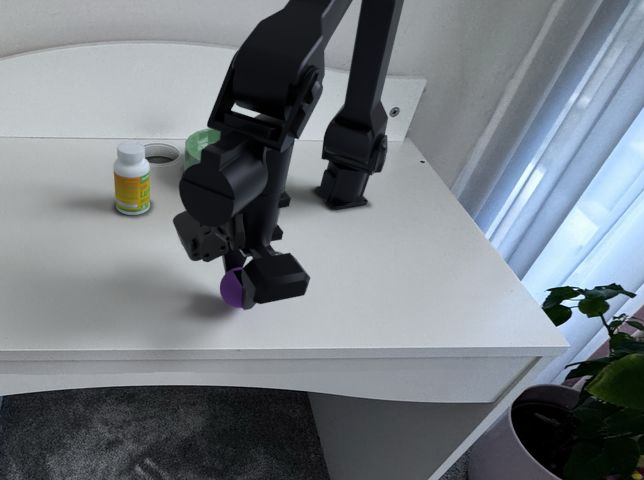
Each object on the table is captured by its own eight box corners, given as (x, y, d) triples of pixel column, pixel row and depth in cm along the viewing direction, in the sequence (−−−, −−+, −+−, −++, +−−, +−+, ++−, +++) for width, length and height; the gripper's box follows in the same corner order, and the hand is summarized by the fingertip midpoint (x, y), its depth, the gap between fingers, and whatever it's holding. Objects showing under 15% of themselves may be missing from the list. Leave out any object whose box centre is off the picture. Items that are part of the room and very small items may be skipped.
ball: (247, 287, 66) (253, 256, 62) (263, 312, 63) (270, 281, 59) (212, 293, 65) (215, 262, 61) (226, 319, 62) (231, 288, 58)
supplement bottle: (145, 218, 77) (144, 158, 70) (111, 213, 78) (107, 153, 70) (153, 200, 81) (153, 141, 73) (121, 195, 81) (118, 136, 74)
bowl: (246, 150, 93) (249, 123, 90) (279, 189, 84) (285, 161, 81) (173, 159, 90) (174, 132, 86) (200, 201, 81) (202, 172, 77)
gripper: (156, 148, 55) (156, 261, 67) (217, 246, 44) (203, 363, 55) (248, 137, 58) (233, 248, 70) (329, 227, 46) (294, 342, 58)
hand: (238, 295), depth 63 cm, fingers closed on ball, 5 cm apart
